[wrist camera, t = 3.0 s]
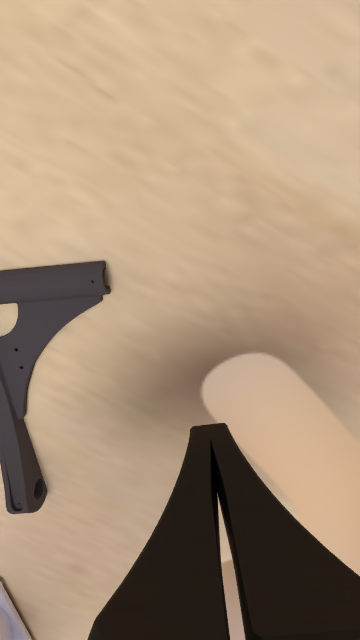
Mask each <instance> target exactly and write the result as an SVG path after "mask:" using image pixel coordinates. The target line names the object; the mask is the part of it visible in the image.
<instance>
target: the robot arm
mask: <svg viewBox="0 0 360 640" xmlns="http://www.w3.org/2000/svg"><path fill="white" fill-rule="evenodd" d="M217 493H218V497H219V502H220V506H221V511H222V515H223V519H224V524H225V528H226V532H227V537H228V541H229V545H230V550H231V554H232V559H233V564H234V569H235V574H236V581H237V586H238V594H239V599H240V606H241V613H242V620H243V626H244V633H245V639H246V640H360V576H358V575H357V574H356V573H355V572H354V571H353V570H351V569H350V568H349V567H348V566H346V565H345V564H344V563H343V562H342V561H340V560H339V559H338V558H337V557H336V556H335V555H334V554H333V553H331V552H330V551H329V550H328V549H327V548H326V547H324V546H323V545H322V544H321V543H320V542H319V541H318V540H317V539H316V538H315V537H314V536H313V535H312V534H311V533H310V532H309V531H308V530H306V529H305V528H304V527H303V526H302V525H301V524H300V523H299V522H298V521H297V520H296V519H295V518H294V517H293V516H292V515H291V514H290V512H289V511H288V510H287V509H286V508H285V507H284V506H283V505H282V504H281V503H280V502H279V501H278V499H277V498H276V497H275V496H274V495H273V494H272V493H271V491H270V490H269V489H268V488H267V486H266V485H265V484H264V483H263V481H262V480H261V479H260V478H259V476H258V475H257V474H256V472H255V471H254V470H253V468H252V467H251V465H250V464H249V463H248V461H247V460H246V458H245V457H244V455H243V454H242V452H241V451H240V449H239V447H238V446H237V444H236V442H235V441H234V439H233V437H232V435H231V433H230V431H229V429H228V427H227V425H226V424H225V423H218V424H210V425H201V426H193V427H192V428H191V429H190V437H189V443H188V447H187V451H186V455H185V458H184V461H183V464H182V468H181V471H180V474H179V476H178V479H177V481H176V484H175V487H174V489H173V492H172V494H171V496H170V499H169V501H168V503H167V505H166V508H165V510H164V512H163V514H162V516H161V518H160V520H159V522H158V524H157V526H156V527H155V529H154V531H153V533H152V535H151V537H150V539H149V540H148V542H147V544H146V545H145V547H144V549H143V551H142V552H141V554H140V555H139V557H138V558H137V560H136V562H135V563H134V565H133V566H132V568H131V569H130V571H129V573H128V574H127V576H126V577H125V579H124V580H123V582H122V583H121V585H120V586H119V587H118V589H117V590H116V591H115V593H114V594H113V596H112V597H111V598H110V600H109V601H108V602H107V604H106V605H105V606H104V608H103V609H102V611H101V612H100V613H99V615H98V616H97V617H96V619H95V621H94V624H93V626H92V629H91V632H90V634H89V637H88V640H230V635H229V628H228V619H227V610H226V602H225V594H224V586H223V578H222V569H221V556H220V536H219V516H218V497H217ZM0 640H32V638H31V636H30V635H29V633H28V631H27V629H26V627H25V625H24V624H23V622H22V620H21V618H20V616H19V614H18V613H17V611H16V609H15V607H14V605H13V603H12V602H11V600H10V598H9V596H8V594H7V592H6V591H5V589H4V587H3V585H2V583H1V581H0Z"/></svg>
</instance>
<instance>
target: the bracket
mask: <svg viewBox="0 0 360 640" xmlns="http://www.w3.org/2000/svg"><path fill="white" fill-rule="evenodd" d="M103 269H106V263H105V261H98V262H88V263H77V264H67V265H56V266H46V267H36V268H25V269H15V270H4V271H0V304H8V303H17V304H18V319H17V322H16V325H15V327H14V328H13V329H12V331H11V332H10V333H8V334H7V335H5V336H2V337H0V464H1V470H2V476H3V482H4V489H5V499H6V507H7V511H8V512H9V513H11V514H20V513H33V512H36V511H38V510H39V509H40V508H41V506H42V505H43V503H44V501H45V498H46V495H47V488H46V485H45V482H44V479H43V476H42V473H41V470H40V467H39V464H38V461H37V458H36V455H35V452H34V449H33V446H32V443H31V440H30V437H29V434H28V431H27V428H26V425H25V422H24V419H23V417H24V416H25V411H26V394H27V388H28V383H29V379H30V376H31V373H32V369H33V366H34V364H35V361H36V360H37V358H38V357H39V355H40V354H41V352H42V351H43V349H44V348H45V346H46V345H47V344H48V342H49V341H50V340H51V339H52V337H53V336H54V335H55V334H56V333H57V332H58V331H59V330H60V329H61V328H62V327H63V326H65V325H66V324H67V323H68V322H70V321H71V320H72V319H74V318H75V317H76V316H78V315H79V314H81V313H83V312H84V311H86V310H87V309H89V308H91V307H93V306H94V305H96V304H98V303H99V302H101V301H102V299H103V298H102V295H105V294H110V292H111V291H110V287H109V286H105V285H104V281H103ZM35 485H36V486H35ZM34 489H35V492H34Z"/></svg>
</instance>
